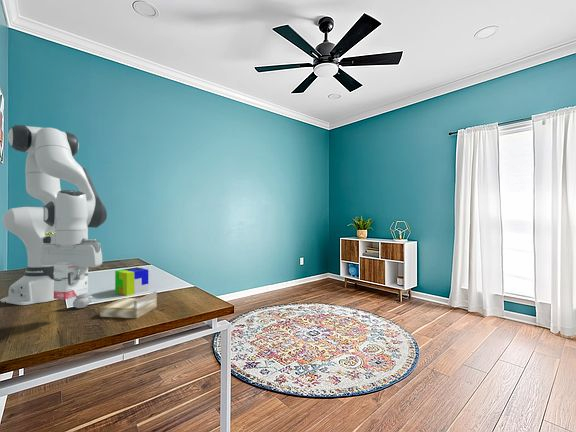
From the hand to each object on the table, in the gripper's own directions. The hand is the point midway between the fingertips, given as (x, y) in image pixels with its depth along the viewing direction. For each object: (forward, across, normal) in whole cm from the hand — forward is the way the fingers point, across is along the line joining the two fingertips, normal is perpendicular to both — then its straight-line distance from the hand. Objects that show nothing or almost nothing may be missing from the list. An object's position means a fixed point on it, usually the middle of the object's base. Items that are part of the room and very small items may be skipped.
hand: (71, 279), depth 95 cm
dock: (+14, -14, -11) cm, 22 cm away
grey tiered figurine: (+15, +8, -13) cm, 21 cm away
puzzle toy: (+15, +4, -36) cm, 39 cm away
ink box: (+6, 0, 0) cm, 6 cm away
